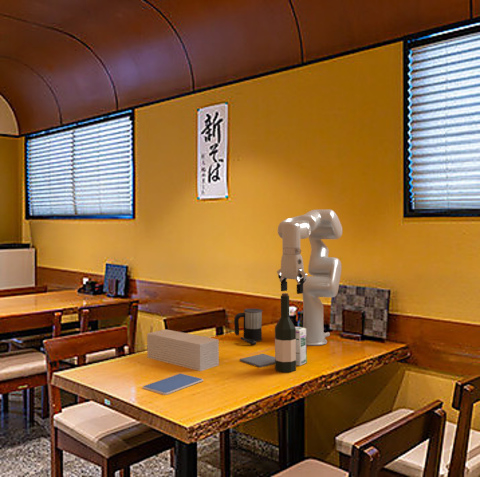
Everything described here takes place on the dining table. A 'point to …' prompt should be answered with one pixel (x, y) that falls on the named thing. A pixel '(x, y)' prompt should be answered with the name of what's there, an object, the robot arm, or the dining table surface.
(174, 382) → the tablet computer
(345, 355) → the dining table surface
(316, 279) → the robot arm
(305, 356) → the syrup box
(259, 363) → the mat
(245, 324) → the milk frother
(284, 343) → the wine bottle
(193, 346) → the stack of papers
